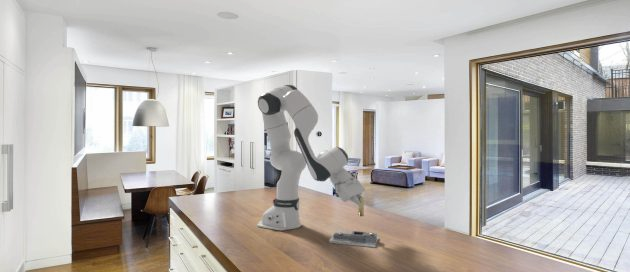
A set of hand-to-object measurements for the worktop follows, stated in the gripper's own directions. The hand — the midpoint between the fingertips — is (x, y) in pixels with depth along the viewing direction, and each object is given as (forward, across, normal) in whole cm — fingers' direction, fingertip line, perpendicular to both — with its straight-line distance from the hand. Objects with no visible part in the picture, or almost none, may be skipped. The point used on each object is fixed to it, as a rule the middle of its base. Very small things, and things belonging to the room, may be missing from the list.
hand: (362, 204), depth 150 cm
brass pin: (+3, 0, +4) cm, 5 cm away
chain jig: (+9, -2, +13) cm, 17 cm away
